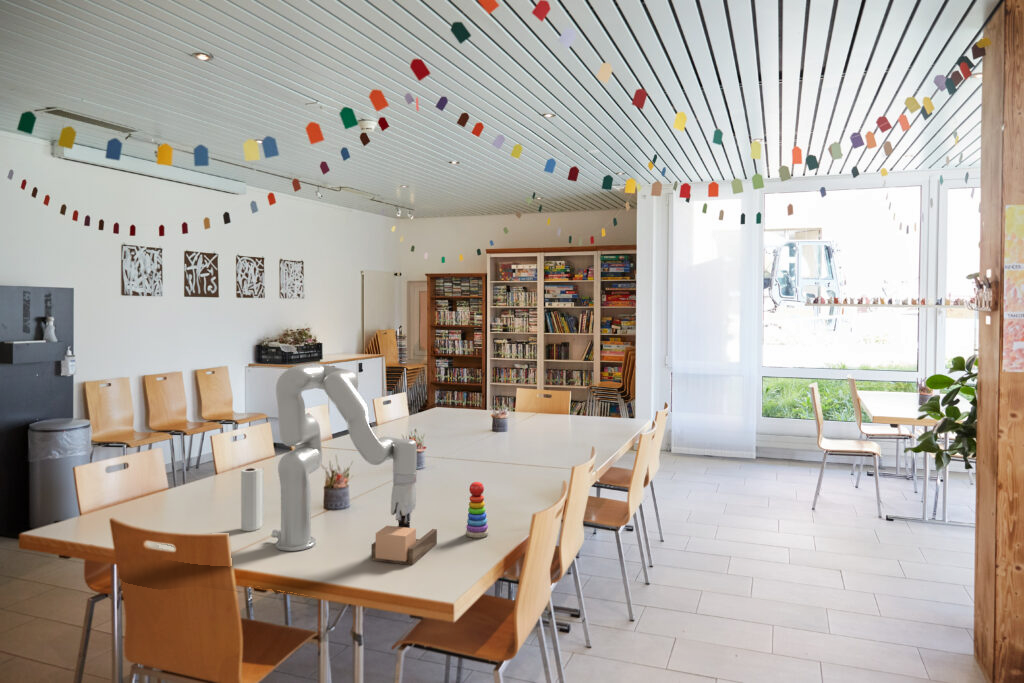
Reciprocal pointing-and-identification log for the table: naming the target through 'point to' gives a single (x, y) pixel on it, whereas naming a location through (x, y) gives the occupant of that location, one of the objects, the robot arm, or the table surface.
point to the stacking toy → (476, 513)
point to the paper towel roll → (252, 499)
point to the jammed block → (394, 542)
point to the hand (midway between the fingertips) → (404, 534)
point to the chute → (413, 549)
